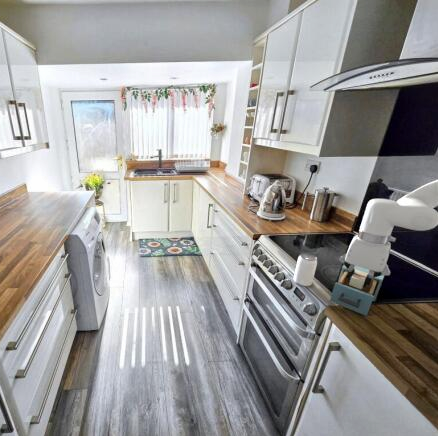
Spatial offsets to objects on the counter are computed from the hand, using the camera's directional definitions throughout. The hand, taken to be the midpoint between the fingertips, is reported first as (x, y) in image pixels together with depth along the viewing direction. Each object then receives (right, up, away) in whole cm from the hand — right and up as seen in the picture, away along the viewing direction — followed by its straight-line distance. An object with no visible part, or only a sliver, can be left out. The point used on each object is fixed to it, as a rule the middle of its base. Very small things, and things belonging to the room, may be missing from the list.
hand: (357, 282), depth 85 cm
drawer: (-2, -7, 0) cm, 8 cm away
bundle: (0, 0, 0) cm, 0 cm away
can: (-11, -4, +14) cm, 18 cm away
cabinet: (+9, -4, +10) cm, 14 cm away
